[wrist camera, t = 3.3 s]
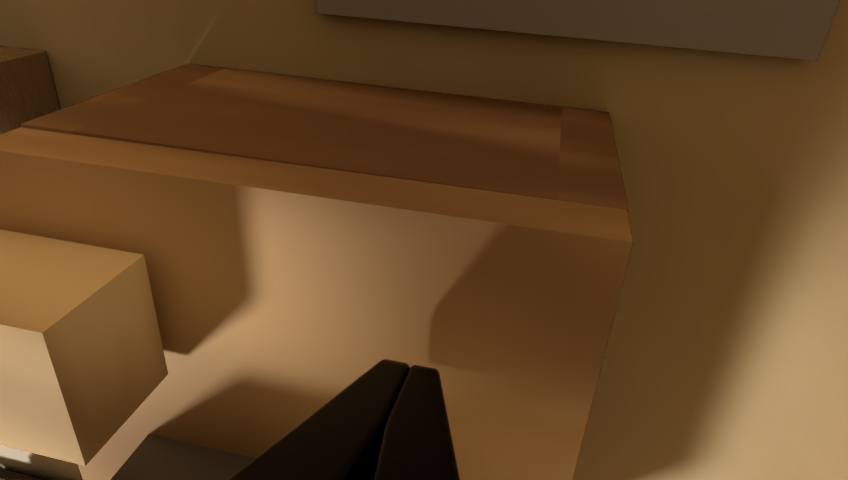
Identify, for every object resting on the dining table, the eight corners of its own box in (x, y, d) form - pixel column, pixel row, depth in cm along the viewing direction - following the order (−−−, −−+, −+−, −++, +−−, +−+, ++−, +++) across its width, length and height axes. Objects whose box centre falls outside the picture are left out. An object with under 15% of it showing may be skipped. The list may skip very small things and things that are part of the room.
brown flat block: (520, 526, 19) (505, 697, 15) (241, 461, 21) (156, 598, 17) (608, 112, 13) (628, 209, 8) (187, 63, 14) (20, 124, 10)
